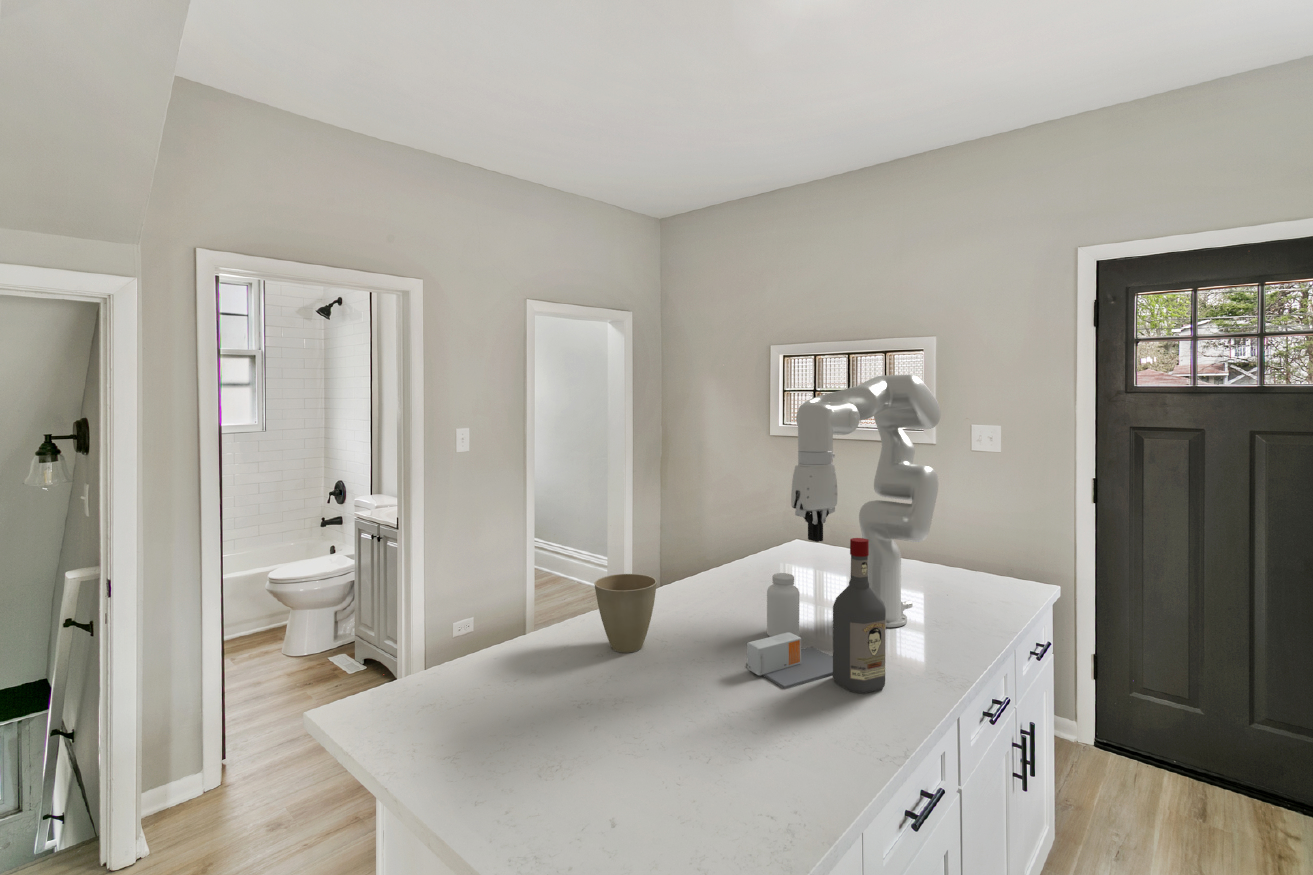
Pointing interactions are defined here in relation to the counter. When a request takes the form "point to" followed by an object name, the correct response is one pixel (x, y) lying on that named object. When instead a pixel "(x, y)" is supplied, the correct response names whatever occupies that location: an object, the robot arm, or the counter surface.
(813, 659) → the mat
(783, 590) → the pill bottle
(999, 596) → the counter surface
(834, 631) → the liquor
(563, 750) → the counter surface
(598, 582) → the plant pot
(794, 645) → the skincare box
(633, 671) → the counter surface
